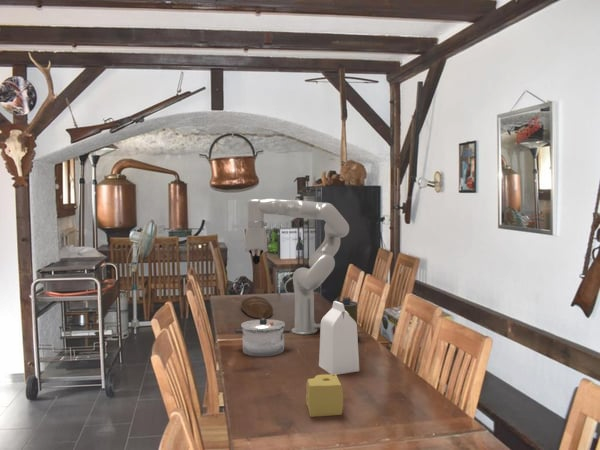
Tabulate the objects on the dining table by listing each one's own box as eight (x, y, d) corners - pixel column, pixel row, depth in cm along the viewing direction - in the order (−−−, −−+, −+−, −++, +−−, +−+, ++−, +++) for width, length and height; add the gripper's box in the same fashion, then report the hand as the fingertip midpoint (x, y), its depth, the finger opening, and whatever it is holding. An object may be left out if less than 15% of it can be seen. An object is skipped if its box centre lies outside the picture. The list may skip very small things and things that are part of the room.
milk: (318, 365, 214) (318, 301, 212) (344, 362, 218) (344, 298, 217) (332, 375, 203) (332, 307, 201) (359, 371, 207) (359, 304, 206)
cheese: (305, 404, 175) (305, 374, 175) (338, 403, 176) (338, 373, 176) (309, 418, 165) (308, 386, 164) (343, 416, 166) (343, 384, 165)
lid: (286, 321, 245) (286, 314, 244) (283, 330, 225) (283, 323, 225) (244, 321, 245) (244, 314, 245) (238, 330, 226) (238, 323, 226)
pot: (292, 344, 244) (291, 322, 243) (289, 356, 226) (289, 333, 226) (239, 344, 245) (238, 322, 244) (233, 356, 227) (232, 333, 226)
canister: (356, 343, 244) (356, 300, 242) (333, 342, 246) (333, 299, 245) (358, 337, 254) (358, 295, 253) (337, 336, 256) (336, 294, 255)
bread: (262, 305, 330) (262, 291, 329) (278, 318, 295) (277, 303, 294) (237, 307, 325) (237, 293, 324) (250, 321, 290) (249, 305, 290)
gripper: (272, 224, 257) (273, 262, 258) (241, 225, 257) (241, 263, 258) (271, 225, 249) (271, 265, 250) (238, 226, 250) (239, 265, 251)
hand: (256, 264), depth 254 cm, fingers closed
